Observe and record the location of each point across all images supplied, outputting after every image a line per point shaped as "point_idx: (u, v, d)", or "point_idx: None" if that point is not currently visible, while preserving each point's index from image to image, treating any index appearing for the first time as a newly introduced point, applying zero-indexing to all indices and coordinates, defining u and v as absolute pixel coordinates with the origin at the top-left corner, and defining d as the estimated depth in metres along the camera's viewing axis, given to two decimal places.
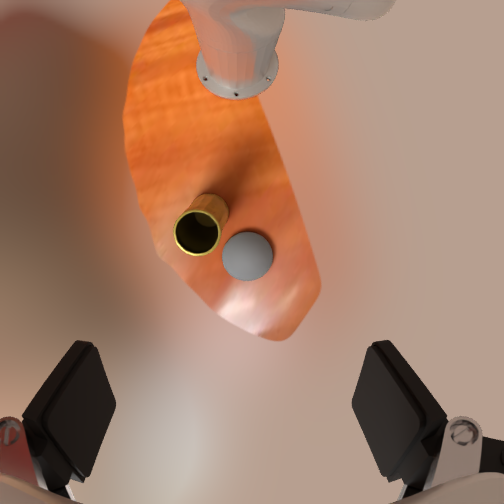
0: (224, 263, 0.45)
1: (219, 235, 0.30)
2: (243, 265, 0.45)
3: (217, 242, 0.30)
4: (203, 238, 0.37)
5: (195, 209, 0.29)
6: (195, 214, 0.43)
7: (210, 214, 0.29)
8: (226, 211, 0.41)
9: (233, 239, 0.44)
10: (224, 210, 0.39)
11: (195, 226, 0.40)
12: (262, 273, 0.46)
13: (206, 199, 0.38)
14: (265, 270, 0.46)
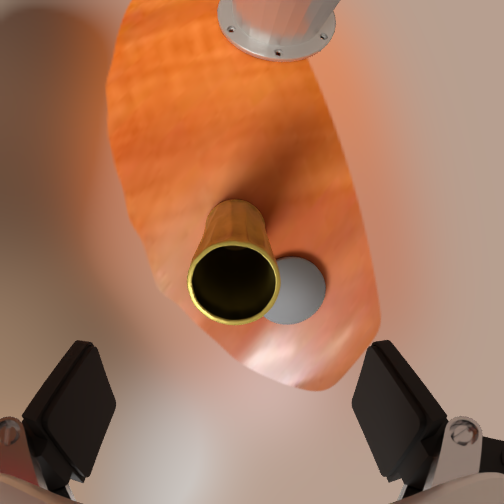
0: None
1: (277, 289, 0.16)
2: (284, 304, 0.31)
3: (273, 302, 0.16)
4: (233, 277, 0.22)
5: (231, 240, 0.15)
6: None
7: (262, 250, 0.15)
8: None
9: None
10: None
11: (217, 252, 0.26)
12: (309, 314, 0.32)
13: (237, 211, 0.23)
14: (314, 310, 0.32)
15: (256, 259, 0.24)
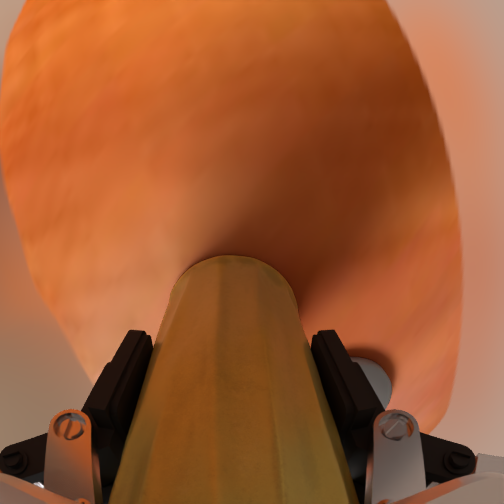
0: None
1: None
2: None
3: None
4: None
5: None
6: None
7: None
8: None
9: None
10: None
11: None
12: None
13: (236, 326, 0.07)
14: None
15: None
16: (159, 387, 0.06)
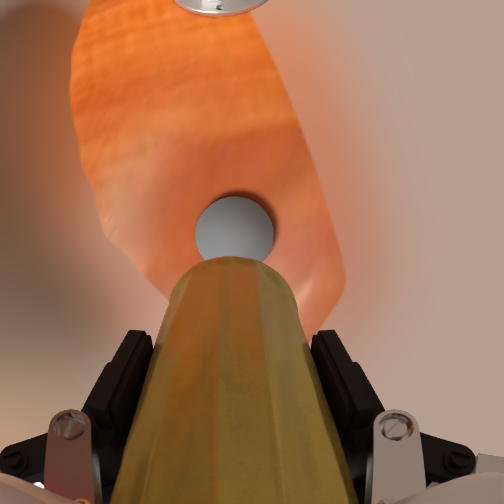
0: (199, 245, 0.29)
1: None
2: (228, 249, 0.29)
3: None
4: None
5: None
6: None
7: None
8: None
9: (211, 208, 0.28)
10: (312, 358, 0.08)
11: None
12: None
13: (236, 327, 0.07)
14: (262, 256, 0.30)
15: None
16: (159, 389, 0.06)
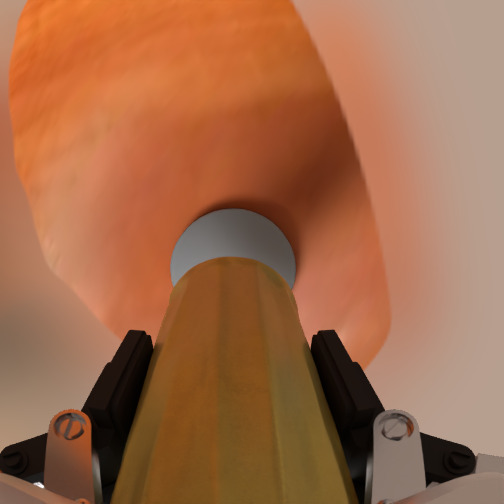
0: None
1: None
2: None
3: None
4: None
5: None
6: None
7: None
8: None
9: (194, 229, 0.17)
10: (312, 358, 0.08)
11: None
12: None
13: (236, 328, 0.07)
14: None
15: None
16: (160, 389, 0.06)
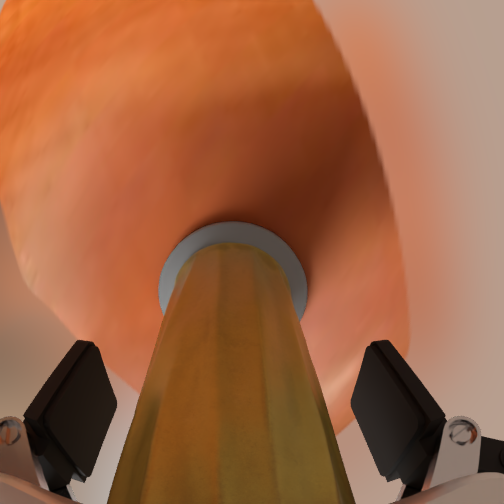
0: None
1: None
2: None
3: None
4: None
5: None
6: None
7: None
8: None
9: (186, 246, 0.14)
10: (301, 329, 0.10)
11: None
12: None
13: (234, 298, 0.09)
14: None
15: None
16: (169, 347, 0.07)
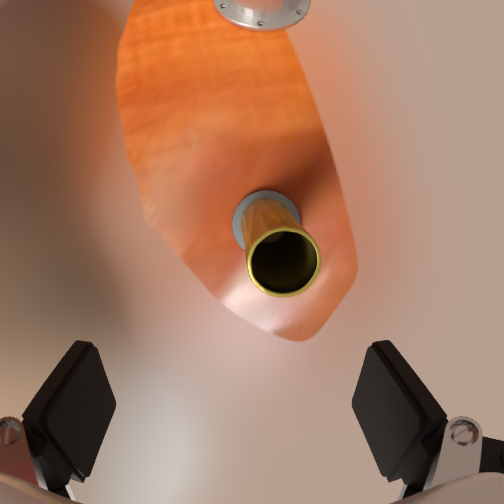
0: (235, 232, 0.33)
1: (318, 267, 0.20)
2: None
3: (314, 278, 0.20)
4: (272, 263, 0.26)
5: (286, 227, 0.19)
6: None
7: (309, 236, 0.19)
8: None
9: (248, 199, 0.32)
10: None
11: None
12: None
13: (274, 207, 0.27)
14: None
15: (289, 249, 0.28)
16: (257, 215, 0.25)
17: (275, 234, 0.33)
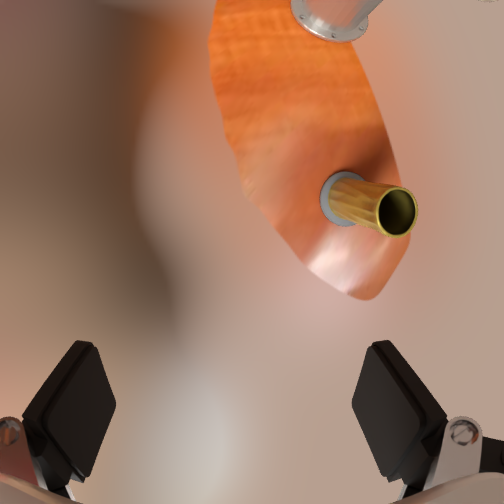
0: (323, 205, 0.39)
1: (416, 215, 0.25)
2: None
3: (414, 223, 0.25)
4: None
5: (398, 186, 0.24)
6: None
7: (411, 193, 0.25)
8: None
9: (333, 178, 0.38)
10: None
11: None
12: None
13: None
14: None
15: None
16: (358, 185, 0.31)
17: None
